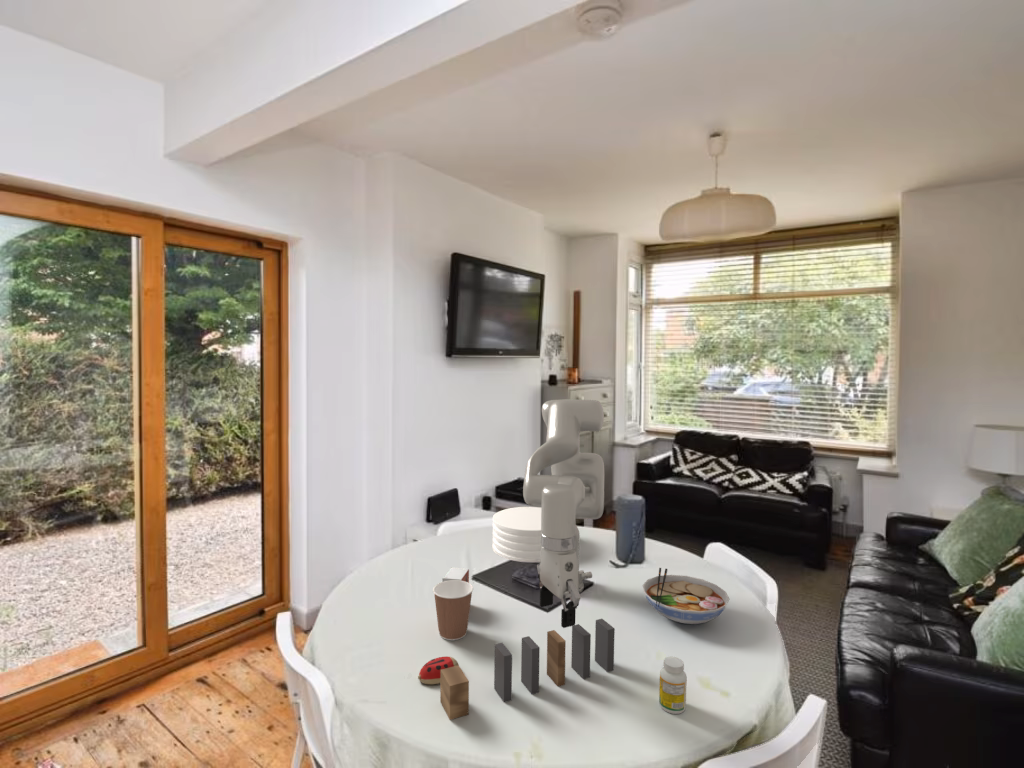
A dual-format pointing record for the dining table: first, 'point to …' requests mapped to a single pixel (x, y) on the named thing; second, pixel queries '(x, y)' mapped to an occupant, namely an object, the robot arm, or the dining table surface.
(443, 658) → the ladybug figurine
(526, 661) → the domino
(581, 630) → the domino
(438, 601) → the coffee cup
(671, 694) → the supplement bottle
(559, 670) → the domino
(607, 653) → the domino
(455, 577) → the small box
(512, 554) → the plate stack
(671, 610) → the ramen bowl
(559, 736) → the dining table surface
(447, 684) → the end block
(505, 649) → the domino
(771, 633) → the dining table surface
